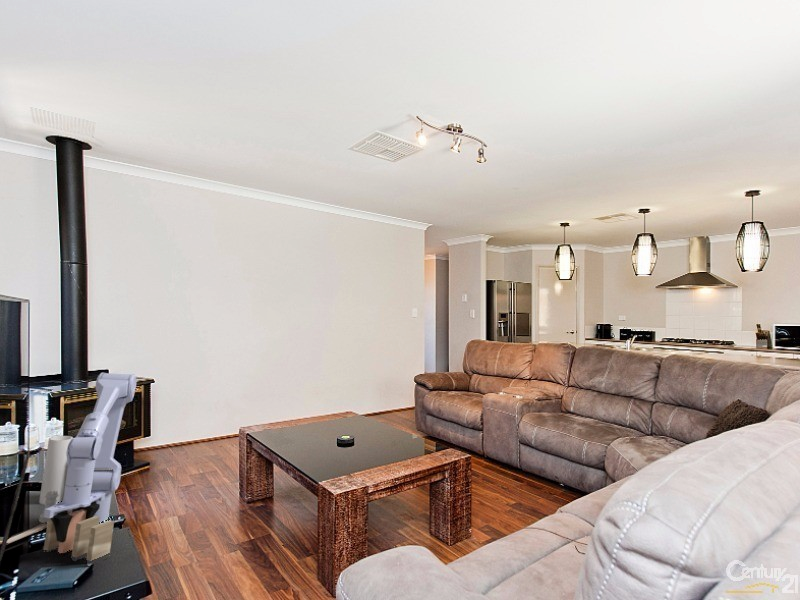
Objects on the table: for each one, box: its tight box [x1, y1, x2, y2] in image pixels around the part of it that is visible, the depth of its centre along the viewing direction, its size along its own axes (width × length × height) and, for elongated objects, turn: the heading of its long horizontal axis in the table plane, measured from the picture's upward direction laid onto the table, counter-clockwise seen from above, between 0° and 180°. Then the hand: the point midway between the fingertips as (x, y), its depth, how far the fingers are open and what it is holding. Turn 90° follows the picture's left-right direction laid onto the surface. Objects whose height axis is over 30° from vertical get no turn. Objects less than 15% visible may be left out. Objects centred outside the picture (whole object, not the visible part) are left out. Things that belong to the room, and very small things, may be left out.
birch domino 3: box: [86, 519, 115, 561], centre depth 113 cm, size 2×5×9 cm, turn 162°
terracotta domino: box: [57, 509, 87, 554], centre depth 116 cm, size 2×5×9 cm, turn 161°
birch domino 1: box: [43, 510, 73, 550], centre depth 118 cm, size 2×5×9 cm, turn 162°
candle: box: [38, 435, 74, 506], centre depth 148 cm, size 11×7×20 cm, turn 120°
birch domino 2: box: [71, 516, 100, 558], centre depth 115 cm, size 2×5×9 cm, turn 162°
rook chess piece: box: [38, 491, 59, 524], centre depth 133 cm, size 4×4×8 cm
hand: (71, 537), depth 116 cm, fingers closed on terracotta domino, 5 cm apart
